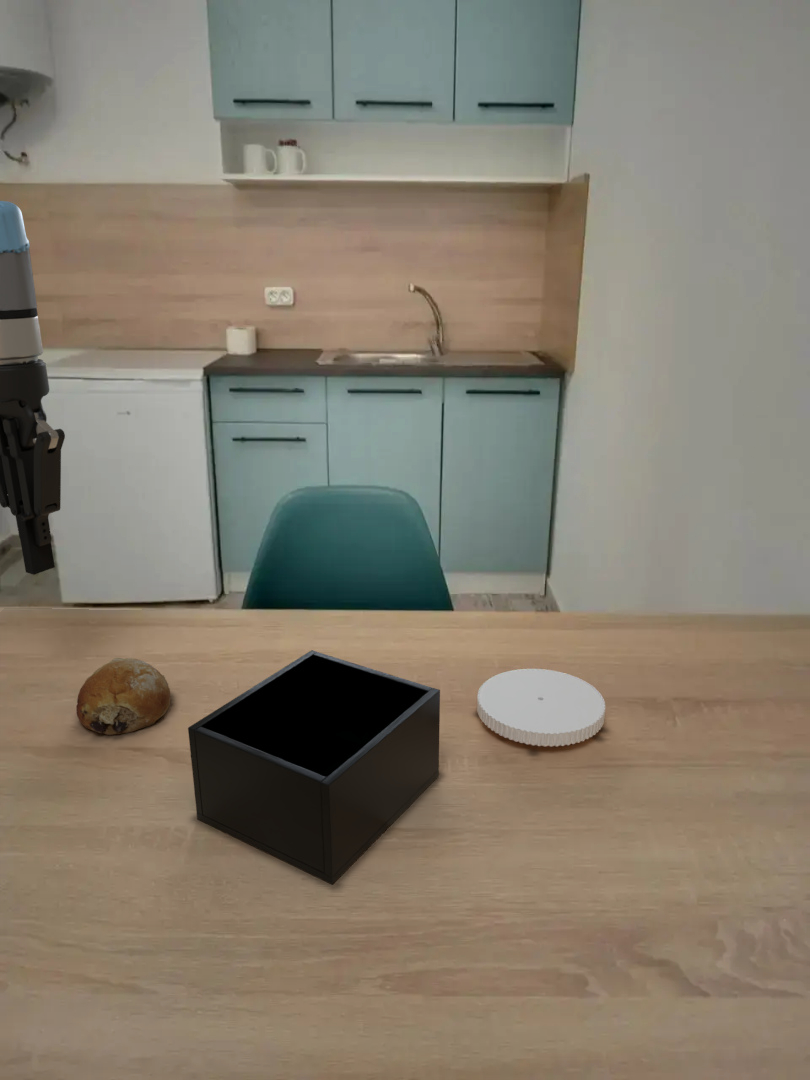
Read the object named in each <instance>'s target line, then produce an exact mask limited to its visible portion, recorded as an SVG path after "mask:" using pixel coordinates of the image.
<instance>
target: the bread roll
mask: <svg viewBox="0 0 810 1080" xmlns="http://www.w3.org/2000/svg"><path fill="white" fill-rule="evenodd" d="M170 705H171V688H170V686H169V683H168V681H167V679H166V676H165V675H164V674H162V673H161V672H160V671H159V670H158V669H157V668H156V667H154V666H153V665H151V664H150V663H148V662H146V661H144V660H141V659H137V658H131V657H129V658H128V657H126V658H123V657H114V658H113V659H111V660H110V661H109V662H107V663H105V664H103V665H102V666H100V667H98V668H97V669H96V670H94V672H93V673H92V674H91V675H90V676H88V677H87V678H86V680H85V681H84V683H83V684H82V686H81V687H80V689H79V692H78V695H77V699H76V717H77V719H78V720H79V722H80V724H81V725H82V726H84V727H85V728H86V729H87V730H90V731H93V732H95V733H98V734H99V735H100V734H101V735H102V734H105V735H106V736H111V735H122V734H127V733H128V734H129V733H133V732H135V731H139V730H141V729H144V728H147V727H150V726H153V725H154V724H155V723H156V721H158V720H160V719H161V718H162V717H163V716H164V715H166V713H167V711H168V710H169V708H170Z"/></svg>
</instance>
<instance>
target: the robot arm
mask: <svg viewBox="0 0 810 1080" xmlns="http://www.w3.org/2000/svg"><path fill="white" fill-rule="evenodd" d="M30 247H31V244H30V240H29V238H28V237H27V233H26V228H25V222H24V216H23V213H22V210H21V209H20V207H19V206H17V204H15V203H13V202H11V201H6V200H0V506H1V507H2V508H3V509H6V508H8V509H10V510H9V511H10V513H11V514H12V516H15V520H16V526H17V532H18V538H19V540H20V548H21V553H22V558H23V564H24V570H25V573H27V574H30V575H33V576H34V575H38V574H40V573H43V572H46V571H48V570H51V569H54V568H56V566H55V559H54V554H53V547H52V533H51V527H50V521H49V516H50V515H51V514H52V513H56V512H59V511H61V497H62V496H61V491H62V486H61V485H62V484H61V483H62V482H61V481H62V480H61V479H62V476H61V475H62V448H63V446H64V441H65V439H66V435H65V434H66V433H65V431H64V430H63V429H62V428H57V429H54V428H53V427H52V426H50V424H49V423H48V422H47V419H48V418H47V413H46V411H45V410H44V407H43V404H42V399H43V398H44V397H45V396H47V395H49V393H50V384H49V377H48V370H47V364H46V361H45V362H44V359H41V358H39V356H41V355H42V354H44V348H43V347H44V346H43V341H42V335H41V334H42V333H41V326H40V322H39V314H38V313H39V312H38V304H37V303H38V302H37V296H36V289H35V288H36V287H35V282H34V281H35V280H34V275H33V274H34V273H33V266H32V258H31V251H30Z"/></svg>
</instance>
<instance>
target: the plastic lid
mask: <svg viewBox="0 0 810 1080" xmlns="http://www.w3.org/2000/svg"><path fill="white" fill-rule="evenodd" d="M476 711H477V715H478V717H479V719H480V720H481V722H482V723H484V725H485V726H486V727H487V728H488V729H490V731H491V732H494V733H495V734H498V735H499V736H501V737H503V738H505V739H508V740H509V741H514V742H516V743H517V742H519V744H525V745H531V746H537V747H541V746H542V747H550V748H552V747H559V746H560V747H561V746H562V747H564V746H570V745H571V744H572V745H575V744H576V743H578V744H579V743H581V742H585V740H589V739H590V738H593V736H595V735H596V734H597V733H599V731H601V729H602V728H603V725H604V723H605V717H606V701H605V699H604V696H602V693H600V691H599V690H597V687H594V685H592V684H591V683H589V682H587V680H583V679H582V678H579V677H578V676H574V674H569V673H564V671H561V672H560V671H559V670H553V669H548V668H546V669H543V668H536V667H535V668H523V669H522V668H519V669H513V670H511V669H510V670H506V671H505V672H500V673H497V674H496V675H493V676H490V677H489V679H486V681H483V683H481V685H480V687H479V689H478V690H477V697H476Z"/></svg>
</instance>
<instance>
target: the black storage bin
mask: <svg viewBox="0 0 810 1080" xmlns="http://www.w3.org/2000/svg"><path fill="white" fill-rule="evenodd" d="M440 718H441V690H440V689H439V688H435V687H431V686H428V685H425V684H421V683H419V682H415V681H412V680H408V679H406V678H402V677H399V676H396V675H393V674H390V673H387V672H384V671H380V670H377V669H373V668H371V667H367V666H365V665H361V664H357V663H354V662H352V661H348V660H345V659H341V658H339V657H335V656H331V655H330V654H329V655H328V654H325V653H322V652H320V651H317V650H312V649H311V650H309V651H308V652H306V653H305V654H303V655H301V656H299V657H298V658H297V659H295V660H294V661H292V662H290V663H289V664H287V665H286V666H284V667H282V668H280V669H279V670H278V671H276V672H274V673H273V674H271V675H270V676H267V677H266V678H264V679H263V680H261V681H259V682H258V683H257V684H255V685H254V686H252V687H250V688H249V689H247V690H246V691H244V692H242V693H241V694H239V695H238V696H236V697H235V698H233V699H231V700H229V701H228V702H226V703H225V704H223V705H222V706H220V707H219V708H217V709H215V710H214V711H212V712H211V713H209V714H207V715H206V716H204V717H203V718H201V719H199V720H197V721H196V722H195V723H193V724H192V725H190V726H188V727H187V732H188V741H189V752H190V760H191V771H192V772H191V773H192V782H193V788H194V789H193V790H194V801H195V810H196V819H197V820H198V821H200V822H201V823H203V824H206V825H207V826H210V827H213V828H214V829H217V831H220V832H222V833H224V834H227V835H229V836H231V837H232V838H235V839H237V840H239V841H241V842H243V843H246V844H248V845H250V846H252V847H253V848H255V849H258V850H260V851H262V852H264V853H266V854H268V855H270V856H272V857H273V858H275V859H278V860H280V861H283V862H284V863H287V864H288V865H290V866H293V867H294V868H297V869H298V870H301V871H304V872H305V873H307V874H309V875H311V876H313V877H315V878H317V879H320V880H321V881H324V882H325V883H328V884H330V885H334V884H335V883H336V882H337V881H338V880H339V879H340V878H341V877H342V876H343V875H344V874H345V873H346V872H347V871H348V870H349V868H351V867H352V866H353V865H354V864H355V863H356V861H358V860H359V858H360V857H361V856H363V854H364V853H366V851H367V850H368V849H369V848H370V847H371V846H372V845H373V844H374V843H375V842H376V841H377V840H378V839H379V838H380V837H381V836H382V835H383V834H384V833H385V832H386V831H387V830H388V829H389V828H390V827H391V826H392V825H393V823H395V822H396V821H397V820H398V818H400V817H401V815H402V814H404V813H405V812H406V810H407V809H409V807H410V806H411V805H412V804H413V803H414V802H416V800H417V799H418V798H419V797H420V796H421V795H422V794H423V793H424V792H425V791H426V790H427V789H428V788H429V787H430V786H431V785H432V784H433V783H434V782H435V781H436V780H437V779H438V778H439V775H440V769H439V768H440V725H441V723H440V720H441V719H440Z"/></svg>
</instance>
